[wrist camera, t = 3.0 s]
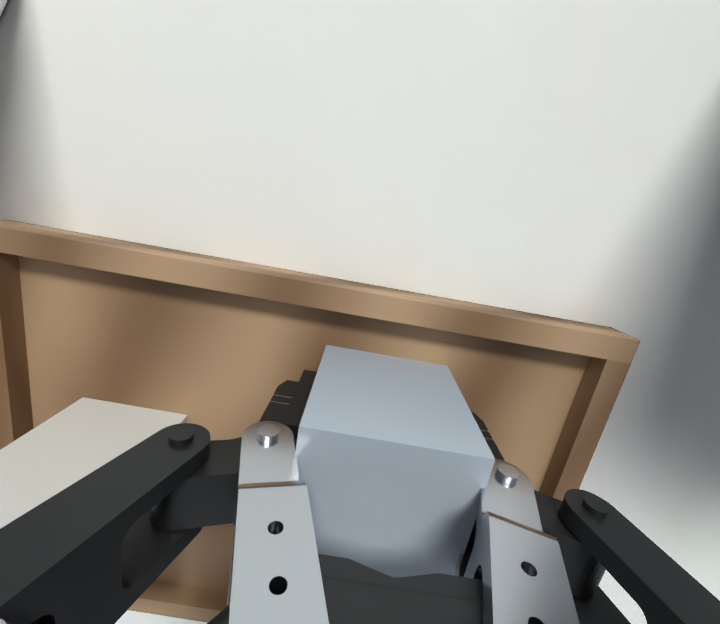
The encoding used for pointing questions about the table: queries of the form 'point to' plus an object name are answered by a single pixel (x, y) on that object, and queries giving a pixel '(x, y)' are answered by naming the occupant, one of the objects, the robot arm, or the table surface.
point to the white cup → (2, 5)
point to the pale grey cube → (71, 450)
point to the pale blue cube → (391, 462)
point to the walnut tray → (275, 360)
